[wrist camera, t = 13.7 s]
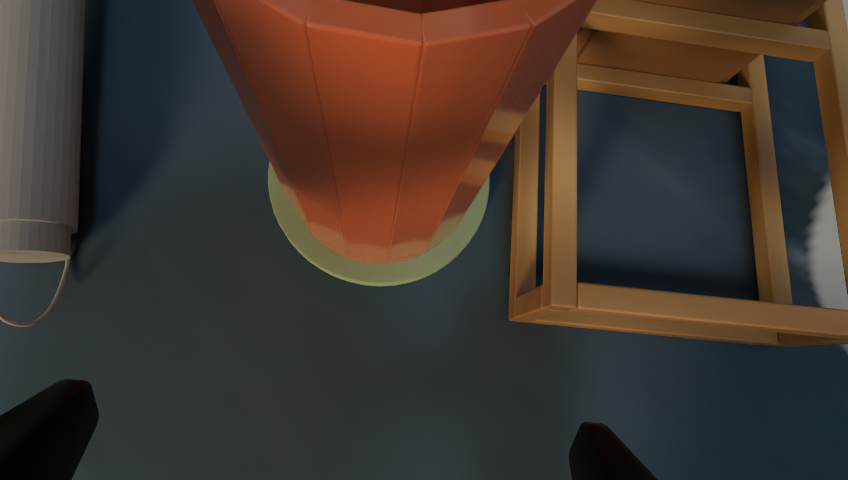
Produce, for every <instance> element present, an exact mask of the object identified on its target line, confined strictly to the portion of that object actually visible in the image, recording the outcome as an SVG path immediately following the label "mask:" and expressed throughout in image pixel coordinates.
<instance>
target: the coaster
mask: <svg viewBox="0 0 848 480" xmlns="http://www.w3.org/2000/svg"><path fill="white" fill-rule="evenodd" d="M489 182H490V178H489V176H488V178H487V179H486V181H485V183H484V184H483V186H482V187H481V189H480V191H479V192H478V194H477V196H476V197H475V199H474V200H473V202H472V204H471V205H470V207H469V208H468V210H467V212H466V213H465V215H464V217H463V218H462V220H461V221H460V223H459V225H458V226H457V228H456V229H455V230H454V231H453V232H452V233H451V234H450V235H449V236H448V237H447V238H446V239H445V240H444V241H443V242H442V243H440V244H439V245H438V246H437V247H435V248H433V249H432V250H430V251H429V252H427V253H425V254H423V255H421V256H419V257H416V258H413V259H410V260H407V261H403V262H397V263H389V264H375V263H365V262H361V261H356V260H353V259H350V258H347V257H344V256H342V255H340V254H338V253H336V252H334V251H332V250H330V249H329V248H327V247H326V246H324V245H323V244H322V243H320V242H319V241H318V240H317V239H316V238H315V237H314V236H313V235H312V234H311V233H310V232H309V231H308V230H307V229H306V227H305V226H304V225H303V223H302V221H301V220H300V218H299V217H298V215H297V213H296V212H295V210H294V209H293V208H292V206H291V204H290V202H289V200H288V198H287V196H286V194H285V192H284V190H283V188H282V186H281V184H280V182H279V179H278V177H277V175H276V173H275V171H274V169H273V167H272V165H271V163H270V162H269V169H268V188H269V195H270V200H271V204H272V208H273V211H274V214H275V216H276V218H277V220H278V223H279V225H280V227H281V228H282V230H283V231H284V233H285V235H286V236H287V238H288V239H289V241H290V242H291V243H292V245H293V246H294V247H295V248H296V249H297V250H298V252H299V253H300V254H302V255H303V256H304V257H305V258H306V259H307V260H308V261H309V262H311V263H312V264H313V265H315V266H316V267H318V268H319V269H321V270H322V271H324V272H326V273H328V274H330V275H332V276H334V277H336V278H339V279H342V280H345V281H348V282H352V283H356V284H361V285H369V286H394V285H400V284H405V283H410V282H413V281H416V280H419V279H422V278H424V277H427V276H429V275H431V274H433V273H435V272H437V271H438V270H440V269H441V268H443V267H444V266H446V265H447V264H449V263H450V262H451V261H452V260H453V259H454V258H456V257H457V256H458V255H459V254H460V252H461V251H462V250H463V249H464V248H465V247H466V246H467V244H468V243H469V242H470V240H471V239H472V237H473V236H474V234H475V233H476V231H477V230H478V228H479V225H480V223H481V221H482V219H483V216H484V213H485V210H486V207H487V202H488V197H489Z"/></svg>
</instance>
